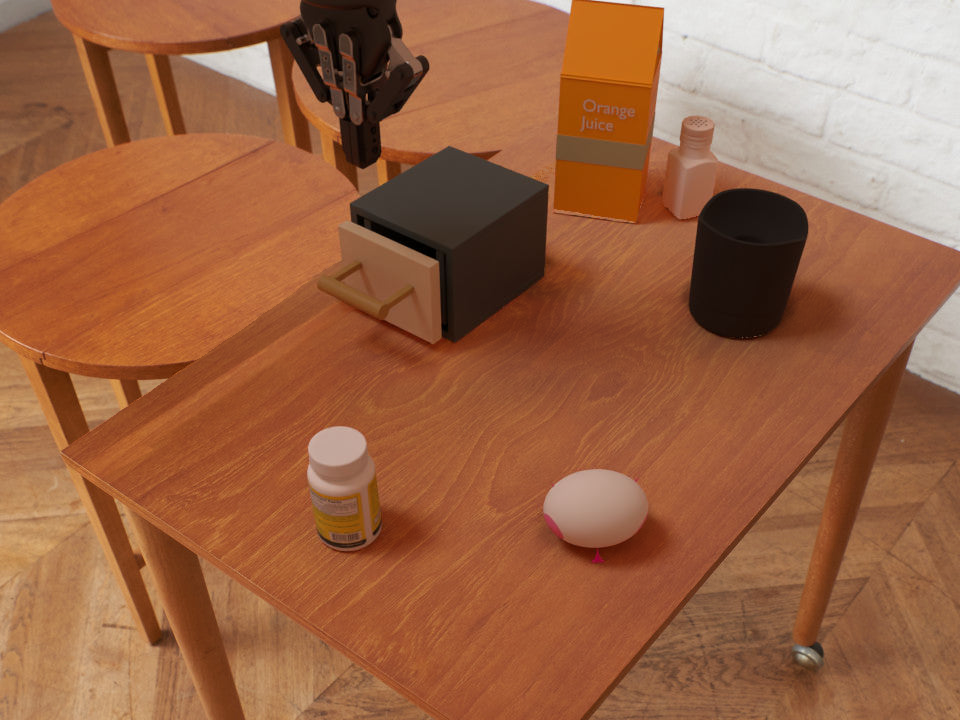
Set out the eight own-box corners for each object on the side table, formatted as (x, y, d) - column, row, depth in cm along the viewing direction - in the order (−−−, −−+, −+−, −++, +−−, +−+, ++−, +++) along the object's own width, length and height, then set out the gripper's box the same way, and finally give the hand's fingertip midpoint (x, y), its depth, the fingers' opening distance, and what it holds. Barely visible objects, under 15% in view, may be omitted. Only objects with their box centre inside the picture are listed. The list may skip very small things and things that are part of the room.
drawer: (397, 371, 89) (391, 293, 83) (309, 325, 93) (297, 248, 87) (519, 281, 98) (521, 206, 93) (434, 243, 103) (431, 169, 97)
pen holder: (807, 325, 96) (833, 228, 89) (724, 354, 93) (745, 256, 85) (743, 274, 101) (763, 178, 94) (663, 300, 98) (678, 203, 91)
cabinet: (454, 343, 93) (452, 249, 86) (358, 296, 98) (348, 203, 91) (544, 276, 101) (549, 184, 94) (451, 235, 105) (449, 145, 98)
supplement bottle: (355, 496, 79) (344, 412, 73) (395, 529, 77) (387, 445, 71) (303, 528, 77) (288, 444, 71) (343, 563, 75) (331, 479, 69)
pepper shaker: (678, 223, 108) (691, 135, 101) (658, 204, 110) (670, 117, 103) (711, 215, 109) (726, 127, 102) (691, 197, 111) (705, 110, 105)
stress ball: (630, 542, 81) (629, 457, 80) (659, 567, 73) (659, 473, 72) (533, 548, 80) (531, 461, 79) (552, 574, 72) (550, 479, 71)
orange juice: (636, 225, 107) (660, 24, 93) (552, 213, 109) (562, 13, 94) (646, 187, 113) (670, -8, 98) (565, 177, 114) (577, -18, 100)
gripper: (228, -91, 69) (267, 155, 82) (377, -46, 64) (395, 210, 76) (309, -117, 74) (335, 120, 86) (455, -77, 68) (460, 171, 81)
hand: (363, 162), depth 81 cm, fingers closed
